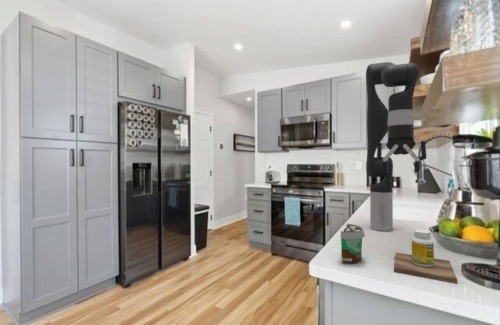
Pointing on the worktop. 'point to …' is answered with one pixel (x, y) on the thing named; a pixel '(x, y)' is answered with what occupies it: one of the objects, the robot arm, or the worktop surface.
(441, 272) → the walnut cutting board
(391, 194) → the robot arm
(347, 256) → the food container
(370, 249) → the worktop surface
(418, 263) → the supplement bottle
